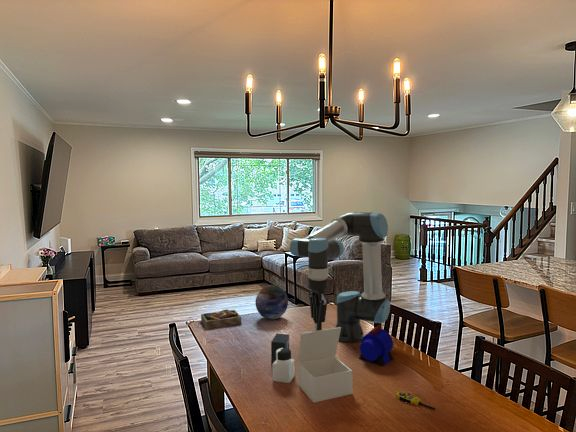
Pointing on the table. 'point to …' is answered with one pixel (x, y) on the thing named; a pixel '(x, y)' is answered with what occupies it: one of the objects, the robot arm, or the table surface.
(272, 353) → the small box
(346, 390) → the carton
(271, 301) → the decorative sphere
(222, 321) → the filled wooden tray
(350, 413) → the table surface
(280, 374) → the medicine bottle
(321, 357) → the lid
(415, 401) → the yellow black screwdriver
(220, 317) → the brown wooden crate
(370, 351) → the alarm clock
